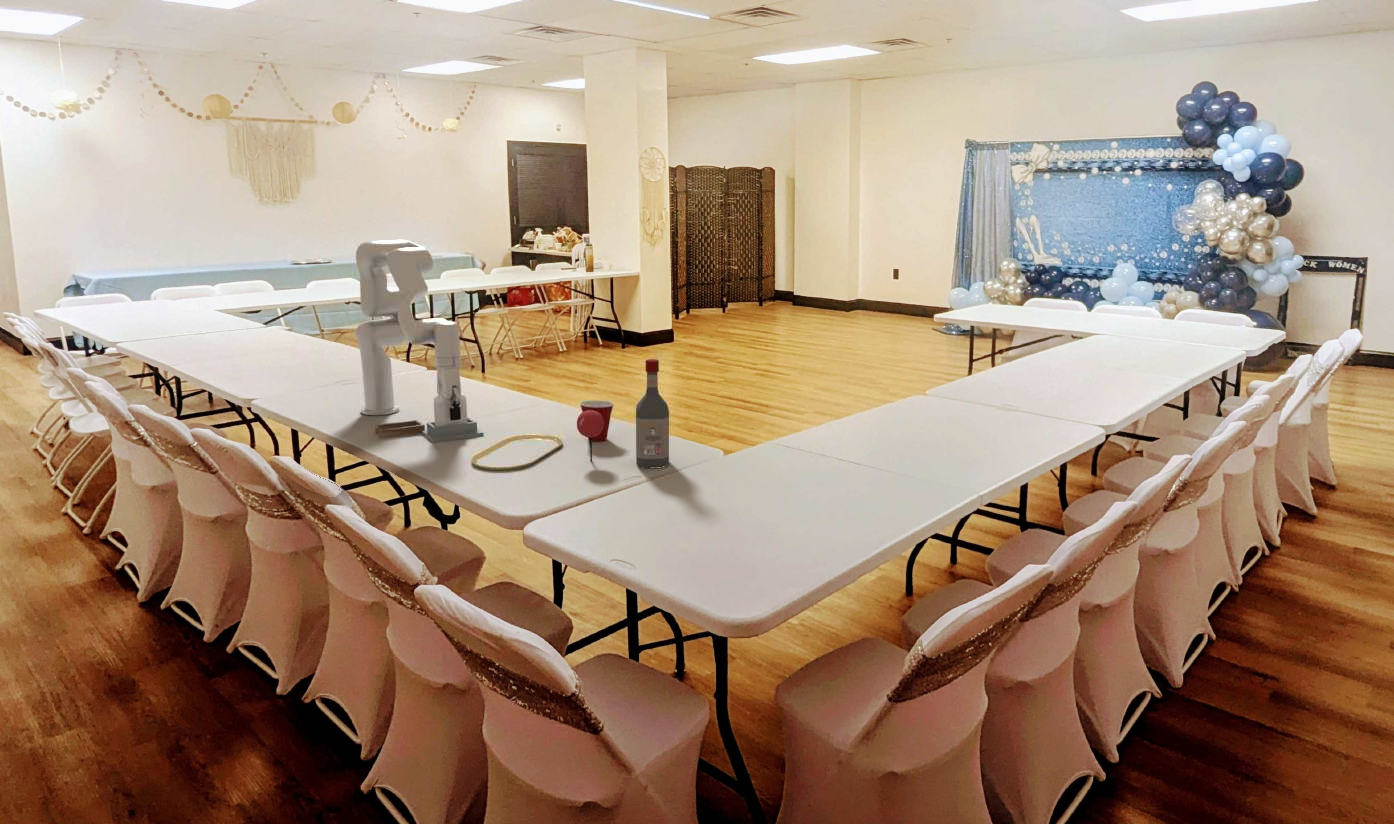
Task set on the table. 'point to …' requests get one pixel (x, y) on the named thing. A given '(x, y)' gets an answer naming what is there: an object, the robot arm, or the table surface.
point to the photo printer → (448, 411)
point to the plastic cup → (605, 412)
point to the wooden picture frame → (399, 429)
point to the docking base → (452, 431)
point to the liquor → (652, 423)
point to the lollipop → (590, 425)
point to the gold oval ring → (511, 439)
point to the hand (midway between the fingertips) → (451, 416)
